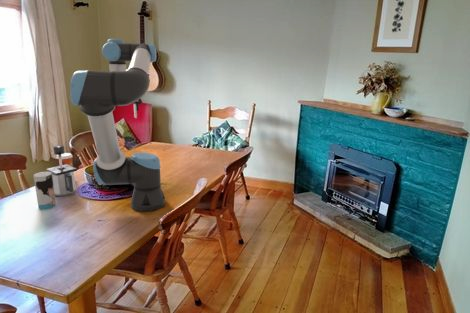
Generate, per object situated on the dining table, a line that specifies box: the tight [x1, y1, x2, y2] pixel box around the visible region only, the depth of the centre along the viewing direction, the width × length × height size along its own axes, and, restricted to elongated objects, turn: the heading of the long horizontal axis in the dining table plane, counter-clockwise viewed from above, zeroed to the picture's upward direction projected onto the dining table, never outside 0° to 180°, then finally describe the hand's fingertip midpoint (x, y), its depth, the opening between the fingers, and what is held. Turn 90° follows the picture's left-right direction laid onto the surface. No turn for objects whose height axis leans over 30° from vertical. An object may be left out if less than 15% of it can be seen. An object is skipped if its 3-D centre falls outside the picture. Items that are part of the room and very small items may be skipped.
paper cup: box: [56, 152, 74, 167], centre depth 173 cm, size 8×8×14 cm
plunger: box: [52, 145, 66, 170], centre depth 155 cm, size 7×7×21 cm
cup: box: [33, 171, 57, 211], centre depth 141 cm, size 7×7×15 cm
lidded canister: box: [45, 164, 78, 198], centre depth 156 cm, size 13×10×12 cm
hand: (121, 118), depth 161 cm, fingers open, 13 cm apart
